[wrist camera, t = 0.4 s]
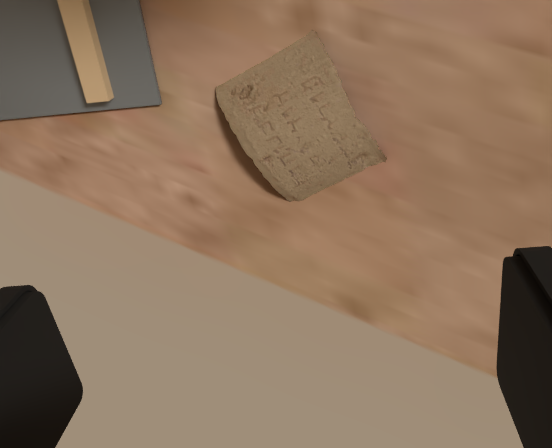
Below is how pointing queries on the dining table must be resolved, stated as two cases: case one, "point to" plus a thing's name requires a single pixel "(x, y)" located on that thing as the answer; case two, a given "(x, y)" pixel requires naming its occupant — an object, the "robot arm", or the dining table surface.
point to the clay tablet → (298, 121)
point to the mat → (73, 57)
